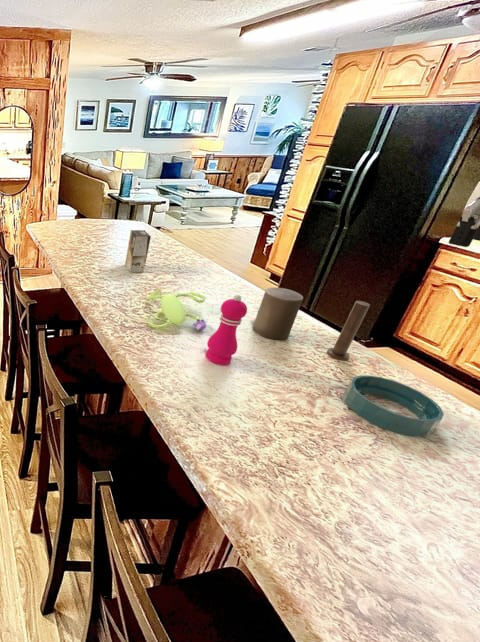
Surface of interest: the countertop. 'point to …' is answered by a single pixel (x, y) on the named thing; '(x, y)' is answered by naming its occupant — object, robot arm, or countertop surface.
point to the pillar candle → (277, 313)
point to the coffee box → (137, 250)
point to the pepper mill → (226, 332)
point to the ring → (399, 394)
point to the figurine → (175, 310)
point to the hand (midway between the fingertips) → (470, 243)
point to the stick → (349, 331)
